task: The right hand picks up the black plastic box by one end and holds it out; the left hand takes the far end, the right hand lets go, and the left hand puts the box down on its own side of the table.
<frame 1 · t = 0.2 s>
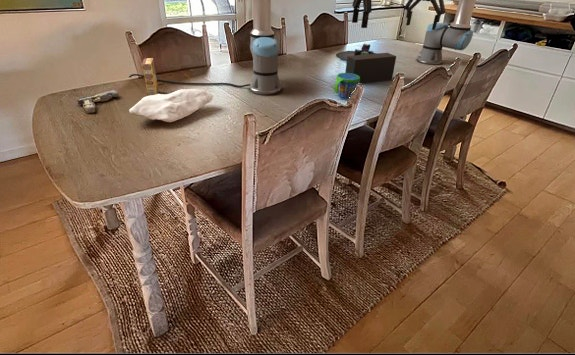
left hand: (359, 25, 182), 28 cm above the table, tool pointing down, fingers open, 13 cm apart
right hand: (420, 27, 182), 28 cm above the table, tool pointing down, fingers open, 13 cm apart
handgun: (101, 103, 156), on the table
grey disc with mount: (362, 58, 236), on the table
box: (368, 80, 197), on the table
crumpled cloth: (172, 113, 149), on the table
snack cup: (345, 97, 173), on the table
candy box: (153, 94, 167), on the table
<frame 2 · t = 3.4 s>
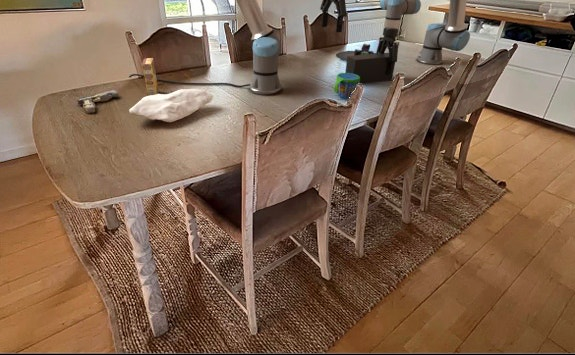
left hand: (331, 29, 174), 27 cm above the table, tool pointing down, fingers open, 13 cm apart
right hand: (383, 72, 199), 4 cm above the table, tool pointing down, fingers closed on box, 8 cm apart
box: (368, 80, 197), on the table, touching right hand
everything else where it was.
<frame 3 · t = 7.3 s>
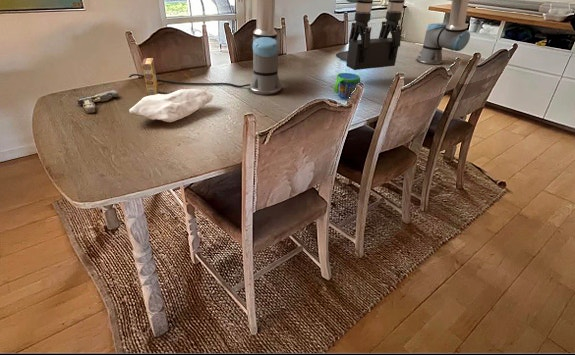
left hand: (356, 60, 187), 12 cm above the table, tool pointing down, fingers closed on box, 8 cm apart
right hand: (386, 57, 194), 11 cm above the table, tool pointing down, fingers closed on box, 8 cm apart
box: (370, 65, 193), point 8 cm above the table, touching left hand, right hand
everything else where it was.
when the right hand's fingers open (11 cm above the table, at t = 8.3 s): box stays where it is, held by the left hand.
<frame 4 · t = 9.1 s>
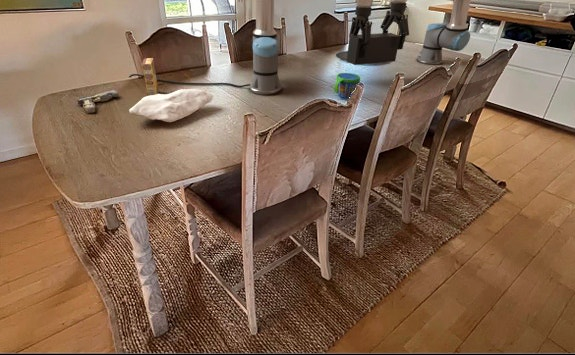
left hand: (357, 55, 186), 14 cm above the table, tool pointing down, fingers closed on box, 8 cm apart
right hand: (391, 46, 192), 17 cm above the table, tool pointing down, fingers open, 13 cm apart
box: (371, 61, 192), point 10 cm above the table, touching left hand
everything else where it was.
when the left hand's fingers open (5 cm above the table, at t = 12.6 s): box drops 1 cm, on the table.
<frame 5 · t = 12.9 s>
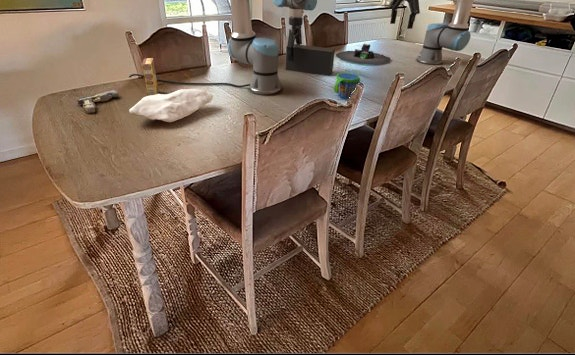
left hand: (294, 58, 207), 6 cm above the table, tool pointing down, fingers open, 11 cm apart
right hand: (400, 26, 188), 27 cm above the table, tool pointing down, fingers open, 13 cm apart
box: (309, 70, 208), on the table
everything else where it was.
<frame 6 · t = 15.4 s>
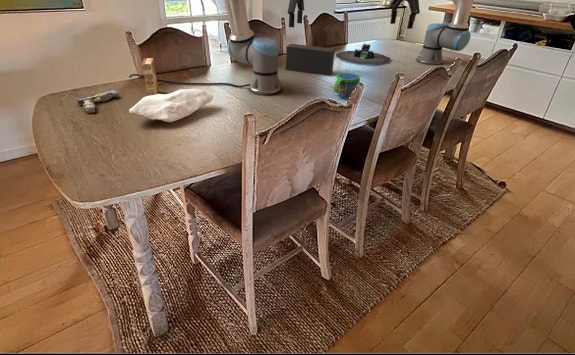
left hand: (295, 25, 198), 24 cm above the table, tool pointing down, fingers open, 13 cm apart
right hand: (400, 26, 188), 27 cm above the table, tool pointing down, fingers open, 13 cm apart
nothing on the table moved.
at the end: box inside the target area (9.4 cm from its centre), on the table; the left hand is holding nothing; the right hand is holding nothing; box at rest at the end (0.0 cm/s) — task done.
